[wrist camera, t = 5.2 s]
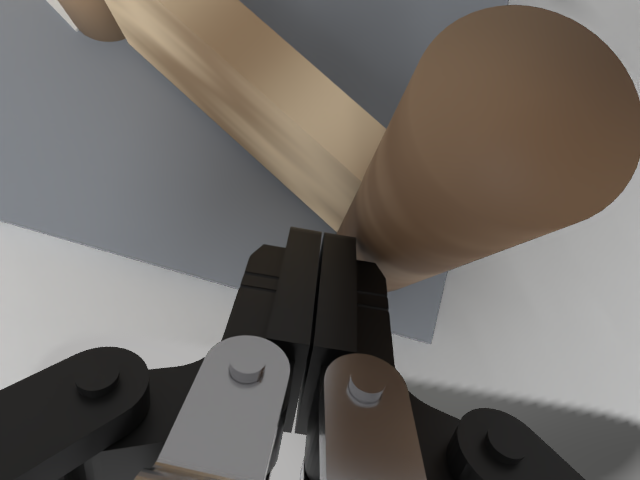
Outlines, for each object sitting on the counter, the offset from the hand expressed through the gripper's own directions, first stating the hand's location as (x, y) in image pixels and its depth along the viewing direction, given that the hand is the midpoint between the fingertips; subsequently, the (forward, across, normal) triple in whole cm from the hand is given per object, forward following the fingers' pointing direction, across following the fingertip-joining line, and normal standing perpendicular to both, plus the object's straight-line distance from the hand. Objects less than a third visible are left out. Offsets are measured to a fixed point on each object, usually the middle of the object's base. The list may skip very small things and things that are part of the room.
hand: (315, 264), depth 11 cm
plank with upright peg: (+5, +2, -1) cm, 5 cm away
